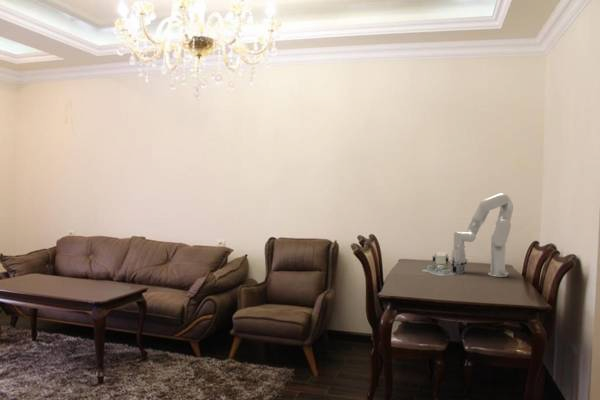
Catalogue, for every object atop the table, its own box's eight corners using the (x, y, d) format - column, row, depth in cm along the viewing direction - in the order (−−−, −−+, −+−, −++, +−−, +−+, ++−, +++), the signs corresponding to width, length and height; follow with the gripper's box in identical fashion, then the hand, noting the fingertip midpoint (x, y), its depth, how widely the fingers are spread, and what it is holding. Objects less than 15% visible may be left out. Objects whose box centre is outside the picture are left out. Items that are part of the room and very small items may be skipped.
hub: (465, 273, 342) (465, 265, 342) (457, 273, 340) (458, 265, 340) (458, 271, 349) (459, 263, 349) (451, 272, 346) (451, 264, 346)
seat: (455, 274, 336) (455, 267, 336) (439, 275, 330) (440, 268, 330) (437, 270, 354) (437, 262, 354) (422, 271, 349) (422, 263, 349)
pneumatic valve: (448, 269, 356) (448, 254, 356) (432, 269, 359) (432, 253, 359) (447, 268, 361) (448, 253, 361) (432, 267, 364) (432, 252, 364)
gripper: (464, 246, 351) (463, 270, 351) (446, 247, 344) (445, 271, 344) (471, 248, 344) (471, 271, 344) (453, 248, 337) (452, 273, 337)
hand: (458, 271), depth 344 cm, fingers closed on hub, 7 cm apart
